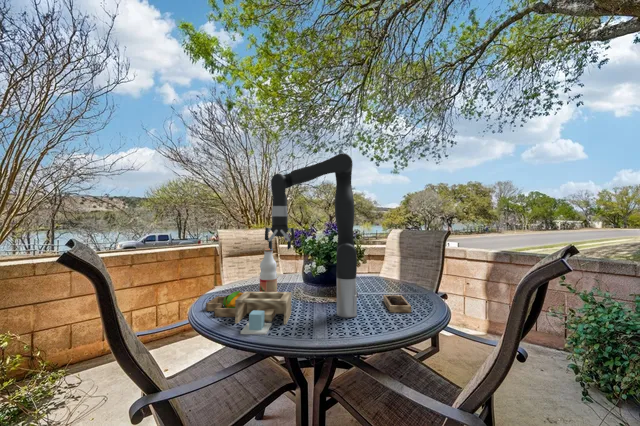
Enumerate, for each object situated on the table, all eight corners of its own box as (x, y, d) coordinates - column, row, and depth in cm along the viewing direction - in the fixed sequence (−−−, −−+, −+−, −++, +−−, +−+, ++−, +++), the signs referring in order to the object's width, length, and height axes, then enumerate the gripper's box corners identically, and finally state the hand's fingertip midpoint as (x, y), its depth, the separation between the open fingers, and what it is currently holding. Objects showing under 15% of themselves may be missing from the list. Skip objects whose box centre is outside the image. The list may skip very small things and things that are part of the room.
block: (264, 325, 118) (264, 310, 119) (261, 329, 113) (261, 314, 114) (252, 324, 119) (252, 310, 119) (249, 329, 114) (249, 314, 114)
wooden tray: (402, 301, 156) (402, 295, 156) (411, 312, 137) (411, 306, 137) (383, 300, 156) (383, 295, 156) (390, 312, 137) (390, 305, 137)
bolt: (390, 306, 153) (404, 314, 139) (382, 301, 153) (395, 309, 138) (395, 296, 154) (409, 303, 139) (387, 291, 153) (400, 298, 139)
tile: (271, 325, 121) (271, 323, 121) (265, 334, 111) (265, 332, 111) (248, 324, 121) (248, 322, 121) (240, 334, 111) (240, 332, 111)
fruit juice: (275, 302, 152) (275, 250, 153) (257, 302, 153) (257, 250, 153) (278, 297, 162) (278, 248, 162) (262, 297, 162) (262, 248, 163)
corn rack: (272, 299, 158) (272, 293, 158) (258, 317, 130) (258, 309, 130) (222, 299, 160) (222, 292, 160) (198, 316, 132) (198, 308, 132)
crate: (291, 313, 135) (291, 292, 136) (286, 324, 121) (286, 300, 122) (245, 312, 137) (245, 291, 137) (235, 323, 123) (235, 299, 123)
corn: (219, 296, 137) (236, 286, 157) (218, 312, 137) (235, 300, 157) (234, 297, 137) (249, 287, 156) (233, 313, 136) (248, 301, 156)
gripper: (295, 215, 142) (295, 248, 142) (267, 215, 143) (267, 248, 142) (293, 215, 134) (293, 250, 134) (263, 215, 135) (263, 250, 135)
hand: (279, 249), depth 138 cm, fingers open, 8 cm apart
